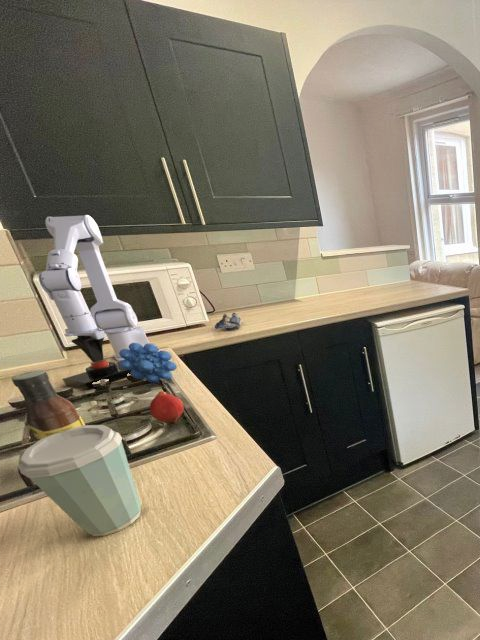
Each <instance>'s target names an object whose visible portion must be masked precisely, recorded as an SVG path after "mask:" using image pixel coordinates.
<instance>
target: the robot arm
mask: <svg viewBox="0 0 480 640" xmlns="http://www.w3.org/2000/svg"><path fill="white" fill-rule="evenodd" d="M45 227H46V229H47V231H48V233H49V234H50V235H51V236H52V238H53V247H54V249H51V250H49V251H48V253H47V258H46V264H45V270H42V271H41V272H40V273H39V274H38V282H39V285H40V287H41V288H42V289H43V291H44V292H45V293H46V294H47V296H48V297H49V299H50V301H53V302H54V304H55V307H56V308H57V310H58V312H59V314H60V316H61V318H62V320H63V323H64V324H65V326H66V328H65V329H64V332H65V333H64V337H66V338H67V337H68V338H69V337H76V338H74V339H71V340H70V342H71V343H72V344H74V345H75V346H77V347H78V348H80V350H82V351H83V353H84V354H85V355H86V356H87V357H88V359H90V361H91V362H98V361H102V360H104V351H103V345H104V344H103V343H104V340H105V338H107V339H108V342H109V344H110V346H111V348H112V350H113V352H114V355H113V357H114V359H115V360H116V362H121V361H122V360H124V359H123V358H122V357H121V356H120V354H119V352H120V350H122V349H129V345H130V344H131V343H139V344H141V345H142V346H143V347H144V345H146V344H151V343H150V341H149V339H148V337H147V334H146V332H145V330H144V328H143V327H142V326H138V324H139V322H138V321H139V320H138V317H137V314H136V312H135V311H134V309H133V307H132V305H131V304H129V303H128V302H125V301H123V300H121V299H118V297H117V294H116V292H115V290H114V287H113V284H112V281H111V279H110V276H109V273H108V271H107V268H106V265H105V262H104V260H103V256H102V254H101V250H100V246H101V245H103V244H104V240H103V236H102V233H101V230H100V229H99V226H98V223H97V222H96V221H95V219H94V218H93V217H91V216H90V215H88V214H83V215H67V216H65V215H64V216H46V218H45ZM75 251H77V252H78V255H79V257H80V260H81V262H82V265H83V268H84V271H85V273H86V276H87V278H88V281H89V284H90V286H91V289H92V291H93V294H94V297H95V299H96V302H95V303H94V305H92V306H91V307H90V309H89V307H88V305H87V302H86V300H85V297H84V295H83V293H82V292H81V290H82V287H83V285H82V280H81V278H80V274H79V272H78V268H79V267H78V266H79V258H78V256H77V255H76V254H75ZM129 350H130V349H129Z"/></svg>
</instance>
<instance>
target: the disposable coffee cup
mask: <svg viewBox="0 0 480 640" xmlns="http://www.w3.org/2000/svg"><path fill="white" fill-rule="evenodd" d="M122 440H123V437H122V436H121V434H120V433H119V432H118V431H114V430H113V429H112V428H110V427H108V426H106V425H104V424H85V425H84V426H80V427H76V428H72V429H68V430H65V431H62V432H59V433H56V434H53V435H51V436H48V437H46V438H43V439H41V440H39V441H38V440H37V442H35V443H34V444H31V445H30V446H29V447H27V448H26V449H25V450H24V452H22V453H23V454H22V455H21V457H20V459H19V461H20V463H19V464H18V466H17V468H18V469H19V472H20V474H21V475H23V476H24V477H26V478H28V479H30V480H31V481H32V482H33V483H34V484H35V485H36V486H37V487H38V488H39V489H40V490H41V491H42V492H43V493H45V494H46V495H47V497H49V498H50V500H51V501H52V502H54V503H55V504H56V505H57V506H58V507H59V508H60V509H61V510H62V511H63V512H64V513H65V514H66V515H67V516H68V517H69V518H70V519H71V520H72V521H73V522H74V524H76V525H77V526H78V527H79V528H81V530H83V532H85V533H86V534H88V535H91V536H92V537H94V538H95V537H96V538H97V537H105V536H108V535H109V536H110V535H112V534H115V533H117V532H120V531H122V530H123V529H125V528H127V527H128V526H130V525H132V524H133V523H134V522H135V521H136V520H137V519H138V518H140V516H141V512H142V503H141V500H140V497H139V494H138V490H137V487H136V484H135V480H134V477H133V474H132V471H131V467H130V464H129V461H128V457H127V454H126V451H125V448H124V447H125V446H124V444H123V442H122Z"/></svg>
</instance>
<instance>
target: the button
mask: <svg viewBox="0 0 480 640" xmlns="http://www.w3.org/2000/svg"><path fill="white" fill-rule="evenodd" d="M108 362H109V361H108V359H104V360H102V361H98V362H93V361H91V362H90V366H92V368H93V369H97V368H102V367H106V366H108V365H109V363H108Z"/></svg>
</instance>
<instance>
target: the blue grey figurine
mask: <svg viewBox="0 0 480 640" xmlns="http://www.w3.org/2000/svg"><path fill="white" fill-rule="evenodd" d="M221 318H222V319H219V321H218V322H216V323H215V325H214V328H215V330H218V329H224V330H225V329H226V331H233V330H238V329H240V325H241V324H243V322H242V317H241V316H240V314H238V313H236V312H233V313H231V316H230V315H228V314H227V313H224V314H223V315H222V317H221Z"/></svg>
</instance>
